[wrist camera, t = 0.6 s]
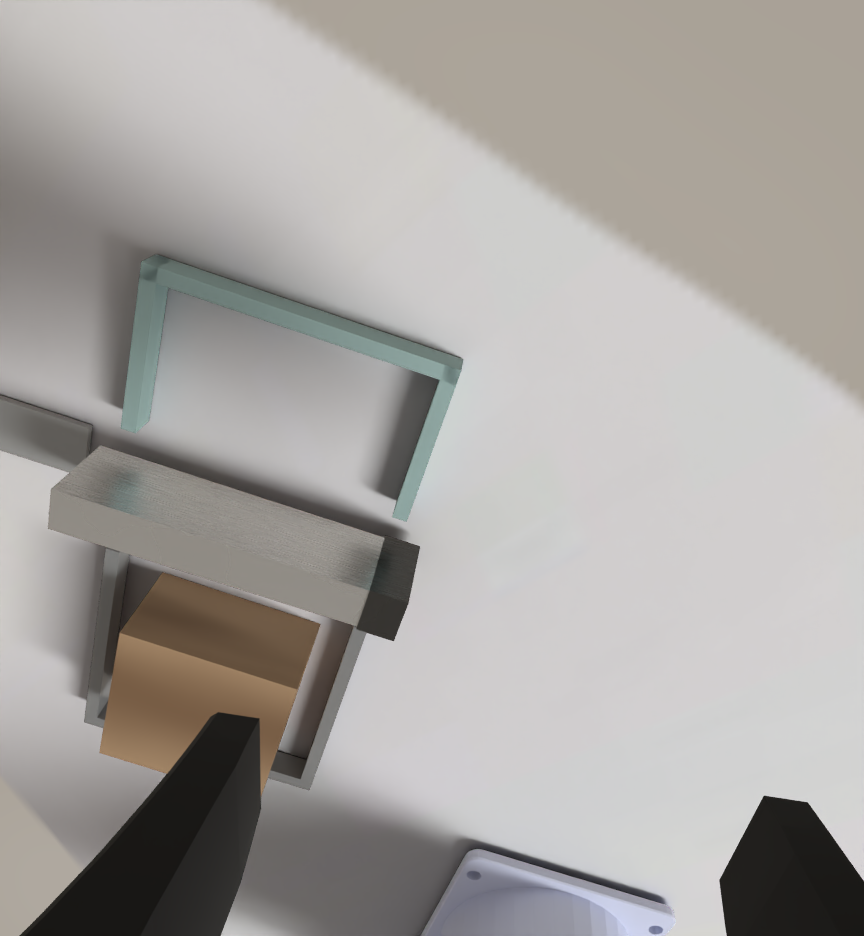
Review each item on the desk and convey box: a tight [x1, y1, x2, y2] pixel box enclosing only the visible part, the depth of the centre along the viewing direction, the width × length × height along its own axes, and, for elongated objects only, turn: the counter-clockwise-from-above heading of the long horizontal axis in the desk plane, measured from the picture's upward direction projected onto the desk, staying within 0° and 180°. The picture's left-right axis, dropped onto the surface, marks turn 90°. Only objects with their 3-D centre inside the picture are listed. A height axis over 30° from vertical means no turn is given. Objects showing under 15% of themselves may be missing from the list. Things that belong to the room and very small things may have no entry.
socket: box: [0, 395, 366, 790], centre depth 22 cm, size 11×18×1 cm, turn 72°
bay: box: [121, 254, 463, 522], centre depth 19 cm, size 4×8×1 cm, turn 72°
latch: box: [48, 445, 420, 641], centre depth 19 cm, size 1×9×2 cm, turn 72°
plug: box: [99, 572, 320, 795], centre depth 23 cm, size 5×5×3 cm
